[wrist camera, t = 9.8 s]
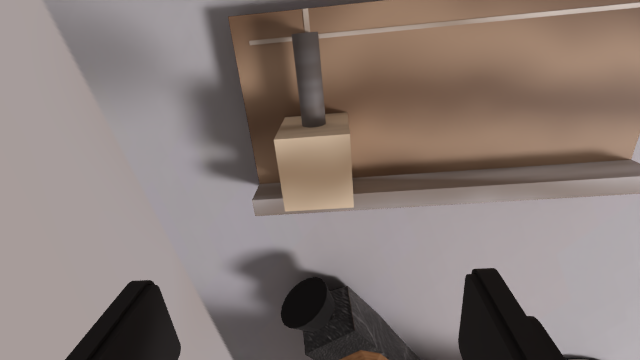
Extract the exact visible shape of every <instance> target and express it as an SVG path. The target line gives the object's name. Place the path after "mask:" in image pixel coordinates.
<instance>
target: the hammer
mask: <svg viewBox="0 0 640 360" xmlns="http://www.w3.org/2000/svg"><path fill="white" fill-rule="evenodd" d="M281 318H282V321H283V323H284V325H285V326H287V327H289V328H293V329H299V330H303V335H304V344H305V355H307V356H309V357H310V358H312V359H314V360H420V359H419V358H418V357H417V356H416V355H415V354H414V353H413V352H412V351H411V350H410V349H409V348H408V347H407V345H406V344H405V343H404V342H403V341H402V340H401V339H400V338H399V337H398V335H397V334H396V333H395V332H394V331H393V330H392V329H391V328H390V326H389V325H388V324H387V323H386V322H385V321H384V320H383V319H382V318H381V316H380V315H379V314H377V313H376V312H375V311H374V310H373V309H372V308H371V307H370V306H369V305H368V304H367V303H365V302H364V301H363V300H362V299H361V298H360V297H359V296H358V295H357V294H356V293H355V292H353V291H352V290H351V289H350V288H349V287H348V286H346V287H344V288H339V289H335V290H332V291H329V290H328V288H327V286H326V284H325V282H324V281H323V280H322V279H320V278H317V277H313V278H308V279H306V280H303V281H301V282H300V283H299V284H297V285H296V286H295V287H294V288H293V289H292V290H291V291H290V292H289V294H288V295H287V297H286V298H285V301H284V303H283V305H282V310H281Z"/></svg>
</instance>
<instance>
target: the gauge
mask: <svg viewBox="0 0 640 360" xmlns="http://www.w3.org/2000/svg"><path fill="white" fill-rule="evenodd" d="M291 35H292V43H293V52H294V60H295V69H296V77H297V86H298V94H299V103H300V111H301V116H295V117H285V118H284V120H283V122H282V124H281V126H280V128H279V130H278V132H277V134H276V136H275V138H274V145H275V151H276V158H277V164H278V170H279V176H280V183H281V189H282V195H283V202H284V208H285V212H287V211H304V210H321V209H338V208H354V199H353V181H352V163H351V144H350V131H349V124H348V116H347V112H345V113H332V114H325V107H324V95H323V83H322V72H321V60H320V48H319V36H318V32H305V33H297V34H291Z"/></svg>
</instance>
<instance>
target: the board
mask: <svg viewBox="0 0 640 360" xmlns="http://www.w3.org/2000/svg"><path fill="white" fill-rule="evenodd" d="M228 19H229V24H230V30H231V35H232V40H233V46H234V51H235V56H236V62H237V67H238V72H239V78H240V83H241V88H242V93H243V99H244V104H245V109H246V115H247V120H248V125H249V131H250V136H251V141H252V146H253V152H254V157H255V162H256V168H257V173H258V178H259V186H258V189H257V191H256V193H255V195H254V197H253V199H252V202H253V207H254V212H255V216H265V215H282V214H299V213H316V212H333V211H350V210H367V209H384V208H401V207H419V206H436V205H453V204H470V203H487V202H504V201H521V200H538V199H555V198H573V197H590V196H607V195H624V194H640V164H639V163H637V162H635V161H633V160H631V158H632V155H633V152H634V149H635V146H636V143H637V140H638V137H639V134H640V0H384V1H374V2H364V3H355V4H345V5H336V6H326V7H316V8H306V9H297V10H288V11H278V12H269V13H259V14H249V15H240V16H230V17H228ZM305 32H318V36H319V48H320V60H321V72H322V83H323V95H324V107H325V114H332V113H345V112H347V116H348V124H349V131H350V144H351V163H352V181H353V199H354V208H338V209H321V210H304V211H287V212H285V208H284V202H283V195H282V189H281V183H280V176H279V170H278V164H277V158H276V151H275V145H274V138H275V136H276V134H277V132H278V130H279V128H280V126H281V124H282V122H283V120H284V118H285V117H295V116H301V111H300V103H299V94H298V86H297V77H296V69H295V60H294V52H293V43H292V35H291V34H297V33H305Z"/></svg>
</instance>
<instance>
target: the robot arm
mask: <svg viewBox="0 0 640 360" xmlns="http://www.w3.org/2000/svg"><path fill="white" fill-rule="evenodd" d="M458 342H459V349H460V353H461V356H462V358H463V360H565V358H564V357H563V355H562V354H561V352H560V351H559V349H558V348H557V346H556V345H555V343H554V342H553V341H552V339H551V338H550V336H549V335H548V333H547V332H546V330H545V329H544V327H543V326H542V324H541V323H540V322H539V321H538V320H537V319H536V318H535V317H533V316H526V314H525V313H524V311H523V310H522V308H521V307H520V305H519V303H518V302H517V300H516V299H515V297H514V296H513V294H512V293H511V291H510V290H509V288H508V286H507V285H506V283H505V282H504V280H503V279H502V277H501V276H500V274H499V273H498V271H497V270H496V269H494V268H487V269H473V270H472V274H467V275H466V278H465V286H464V295H463V304H462V312H461V321H460V330H459V339H458ZM180 350H181V346H180V342H179V340H178V337H177V334H176V331H175V329H174V326H173V323H172V321H171V318H170V315H169V313H168V310H167V307H166V305H165V302H164V299H163V297H162V294H161V291H160V289H159V287H158V286H157V285H155V284H154V283H153V282H152V281H150V280H144V281H131V282H130V283H129V284H127V286H126V287H125V288H124V289H123V290H122V292H121V293H120V294H119V296H117V298H116V299H115V300H114V301H113V302H112V304H111V305H110V306H109V308H108V309H107V310H106V311H105V312H104V313H103V315H102V316H101V317H100V318H99V319H98V321H97V322H96V323H95V324H94V325H93V327H92V328H91V329H90V330H89V332H88V333H87V334H86V335H85V337H84V338H83V339H82V340H81V341H80V342H79V344H78V345H77V346H76V347H75V349H74V350H73V351H72V352H71V353H70V355H69V356H68V357H67V358H66V359H65V360H178V358H179V355H180ZM570 360H587V359H570Z"/></svg>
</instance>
